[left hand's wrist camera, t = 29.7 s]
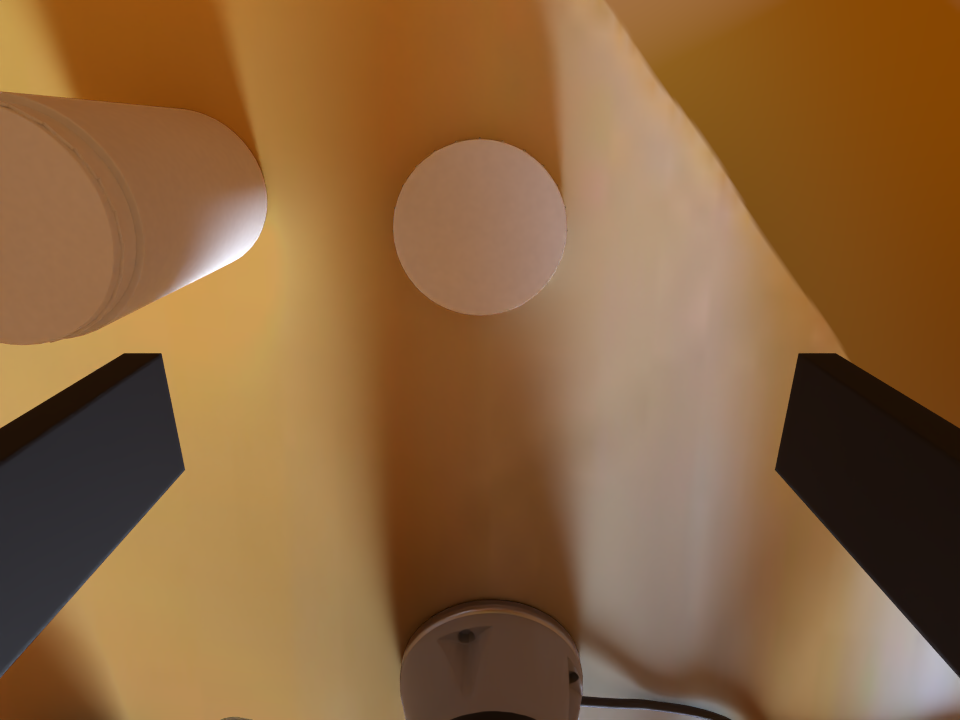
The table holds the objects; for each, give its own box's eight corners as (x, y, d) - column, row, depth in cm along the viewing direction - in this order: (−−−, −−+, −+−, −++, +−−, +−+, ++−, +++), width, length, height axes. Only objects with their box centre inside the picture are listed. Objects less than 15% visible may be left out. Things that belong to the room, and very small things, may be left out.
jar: (291, 245, 38) (167, 315, 23) (155, 286, 39) (-49, 379, 24) (228, 87, 35) (35, 49, 20) (81, 136, 36) (-209, 135, 21)
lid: (361, 212, 37) (355, 215, 36) (496, 99, 35) (497, 97, 33) (466, 338, 40) (465, 347, 38) (596, 242, 38) (602, 247, 36)
